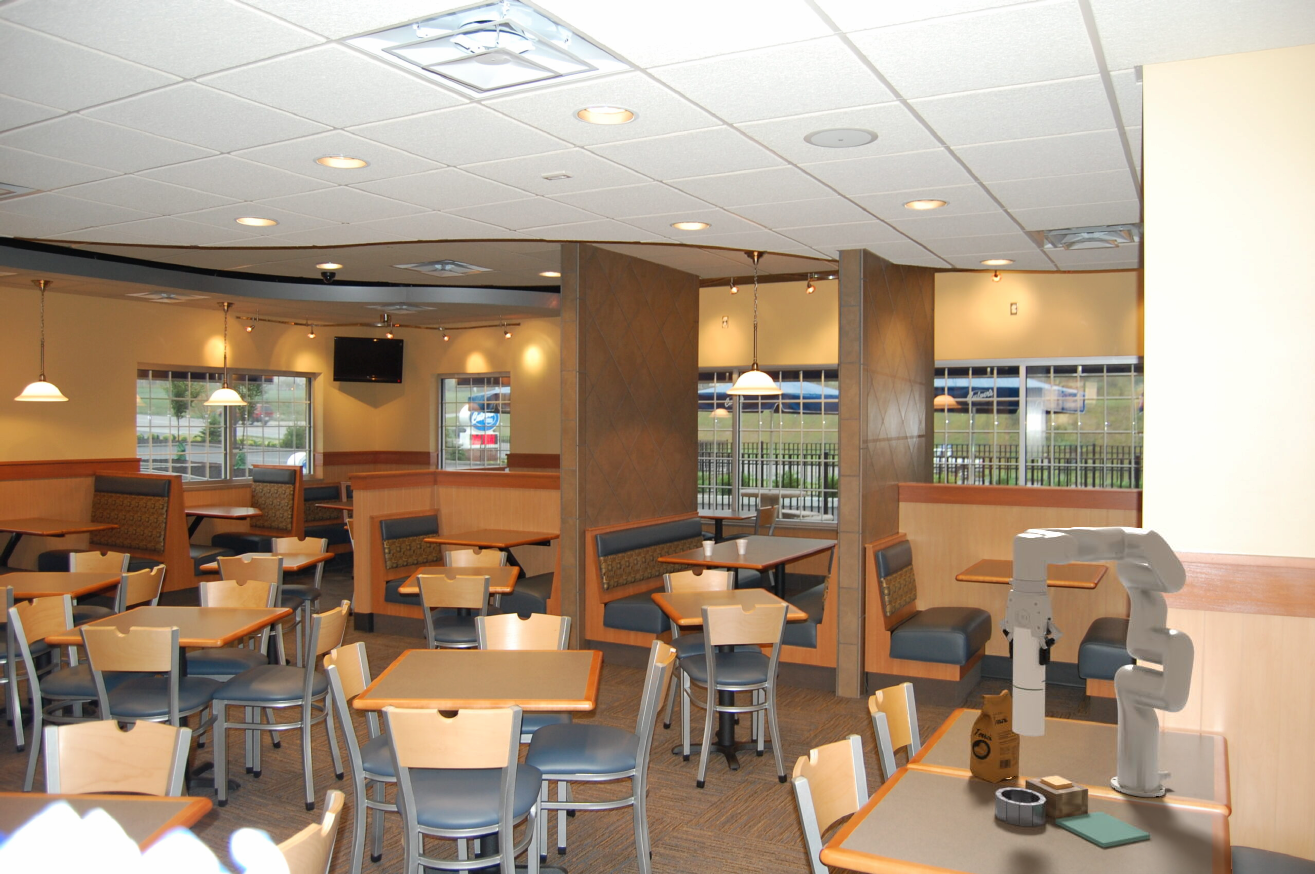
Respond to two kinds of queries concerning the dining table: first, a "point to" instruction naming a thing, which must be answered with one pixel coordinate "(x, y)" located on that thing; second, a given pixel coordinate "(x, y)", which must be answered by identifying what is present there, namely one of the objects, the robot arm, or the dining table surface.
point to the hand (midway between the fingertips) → (1029, 660)
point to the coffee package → (995, 740)
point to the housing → (1061, 798)
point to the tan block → (1056, 782)
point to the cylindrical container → (1028, 685)
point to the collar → (1020, 807)
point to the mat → (1102, 829)
